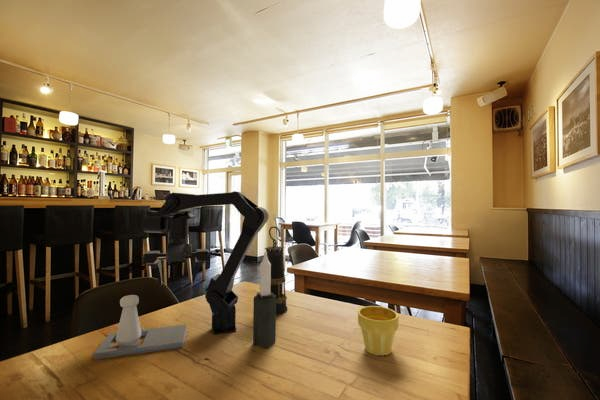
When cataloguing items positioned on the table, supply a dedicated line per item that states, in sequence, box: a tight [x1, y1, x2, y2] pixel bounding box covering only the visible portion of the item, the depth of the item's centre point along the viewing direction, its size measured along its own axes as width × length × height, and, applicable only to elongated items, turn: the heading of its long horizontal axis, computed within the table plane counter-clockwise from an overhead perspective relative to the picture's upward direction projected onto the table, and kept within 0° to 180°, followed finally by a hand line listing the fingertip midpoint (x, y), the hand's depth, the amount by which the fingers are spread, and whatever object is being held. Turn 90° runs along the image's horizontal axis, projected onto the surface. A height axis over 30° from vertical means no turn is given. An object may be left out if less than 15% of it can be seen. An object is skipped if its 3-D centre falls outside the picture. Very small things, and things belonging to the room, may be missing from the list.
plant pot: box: [357, 305, 399, 357], centre depth 74 cm, size 10×10×10 cm
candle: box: [252, 251, 277, 349], centre depth 77 cm, size 5×5×25 cm
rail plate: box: [93, 324, 187, 361], centre depth 76 cm, size 20×11×2 cm, turn 108°
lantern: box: [264, 226, 288, 316], centre depth 101 cm, size 9×9×30 cm
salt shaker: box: [115, 294, 142, 348], centre depth 75 cm, size 6×6×13 cm
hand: (177, 283), depth 87 cm, fingers open, 9 cm apart
